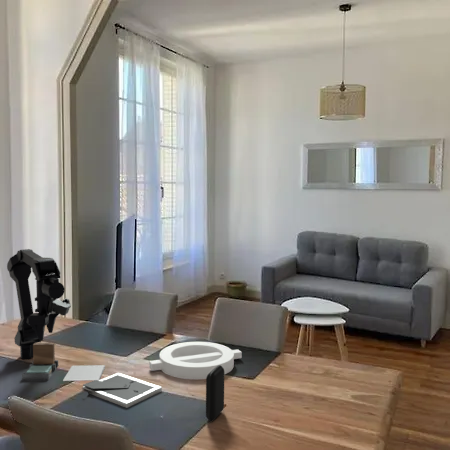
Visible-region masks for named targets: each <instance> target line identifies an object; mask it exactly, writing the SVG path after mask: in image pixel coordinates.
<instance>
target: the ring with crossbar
mask: <svg viewBox="0 0 450 450" xmlns="http://www.w3.org/2000/svg"><path fill="white" fill-rule="evenodd" d="M242 353H243V352H242V351H241V350H239V348H238V349H231V348H230V347H228V346H225V345H223V344H220V343H216V342H209V341H186V342H180V343H174V344H171V345H169V346H166V347H164V348H163V349H161V351H160V352H159V359H155V360H154V359H153V360H149V366H148V367H149V369H150V371H152V372H153V371H160V370H161V372H162V373H164V374H166V375H168V376H171V377H175V378H178V379H185V380H206V378H207V375H208V374H209V373H210V372H211V371H212V370H213V369H214V368H215V367H217V366H218V365H221V366H222V367H223V369H224V375H226V374H228V373H230V372H231V371H232V370H233V368H234V367H235V365H234V363H235V361H234V360H237V359H242V357H243V356H242Z"/></svg>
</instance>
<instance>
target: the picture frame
mask: <svg viewBox="0 0 450 450" xmlns="http://www.w3.org/2000/svg"><path fill="white" fill-rule="evenodd" d="M82 389H83V390H87V391H88V392H87V394H89V395H91V396H95V397H97V398H100V399H102V400H105V401H107V402H110V403H113V404H116V405H118V406H121V407H123V408H126V409H128V408H130V407H132V406H134V405H136V404H138V403H140V402H142V401H145V400H146V399H148V398H150V397H152V396H155V395H157V394H159V393H161V392H162V391H163V388H162V386H161V385H157V384H154V383H150V382H148V381H145V380H142V379H139V378H136V377H132V376H130V375H127V374H124V373H121V372H116V373H114V374H112V375H108V376H107V377H103V378H100V380H99V381H94V380H91V381H89V382H87V383H83V384H82Z"/></svg>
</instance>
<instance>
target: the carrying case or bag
mask: <svg viewBox="0 0 450 450" xmlns="http://www.w3.org/2000/svg"><path fill="white" fill-rule="evenodd" d="M205 380H206V382H205V416H206V419H207V420H208V421H209V422H213V421H214V420H216V418H217V417H219V415H220V414H221V412H222V411H223V410H224V407H225V374H224V369H223V367H222V366H221V365H218V366H217V367H215V368H214V369H213V370H212V371H211V372H210V373H209V374H208V375H207V378H206V379H205Z"/></svg>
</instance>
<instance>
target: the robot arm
mask: <svg viewBox="0 0 450 450" xmlns="http://www.w3.org/2000/svg"><path fill="white" fill-rule="evenodd" d="M6 269H7V271H8V272H9V278H11V279H12V280H13V281H14V283H15V289H16V296H17V301H18V308H19V314H20V320H19V323H18V325H17V332H16V333H15V336H14V343H15V345H17V346H18V347H20V349H19V350H20V358H21V360H30V359H32V358H33V344H34V343H42V341H44V337H45V336H44V335H45V329H47V331H48V333H49V334H52V333H54V331H53V330H54V327H55V325H56V324H55V323H56V319H57V317H58V316H59V315H60V316H66V315H67V314H68V313H69V311H70V308H71V306H72V305H71V302H70V301H71V300H70V299H69V298H67V297H66V298H64V299H62V300H61V299H60V298H62V297H63V296H64V294H65V291H66V290H65V289H66V288H65V286H64V284H63V283H61V282H60V279H61V271H60V269H59V267H58V263H57V262H56V260H55V259H54V258H53V257H42V256H41V255H39V254H37V253H36V252H34V251H33V249H29V248H28V249H27V248H25V249H20V250H17V252H16V254H13V256H11V257H10V258H9V260H8V261H7V264H6ZM31 273H33V275H34V280H35V283H36V287H35V288H36V296H35V297H34V301H35V302H36V308H35V309H33V302H32V295H31V289H30V284H29V278H30V276H31ZM58 299H60V300H58Z"/></svg>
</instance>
